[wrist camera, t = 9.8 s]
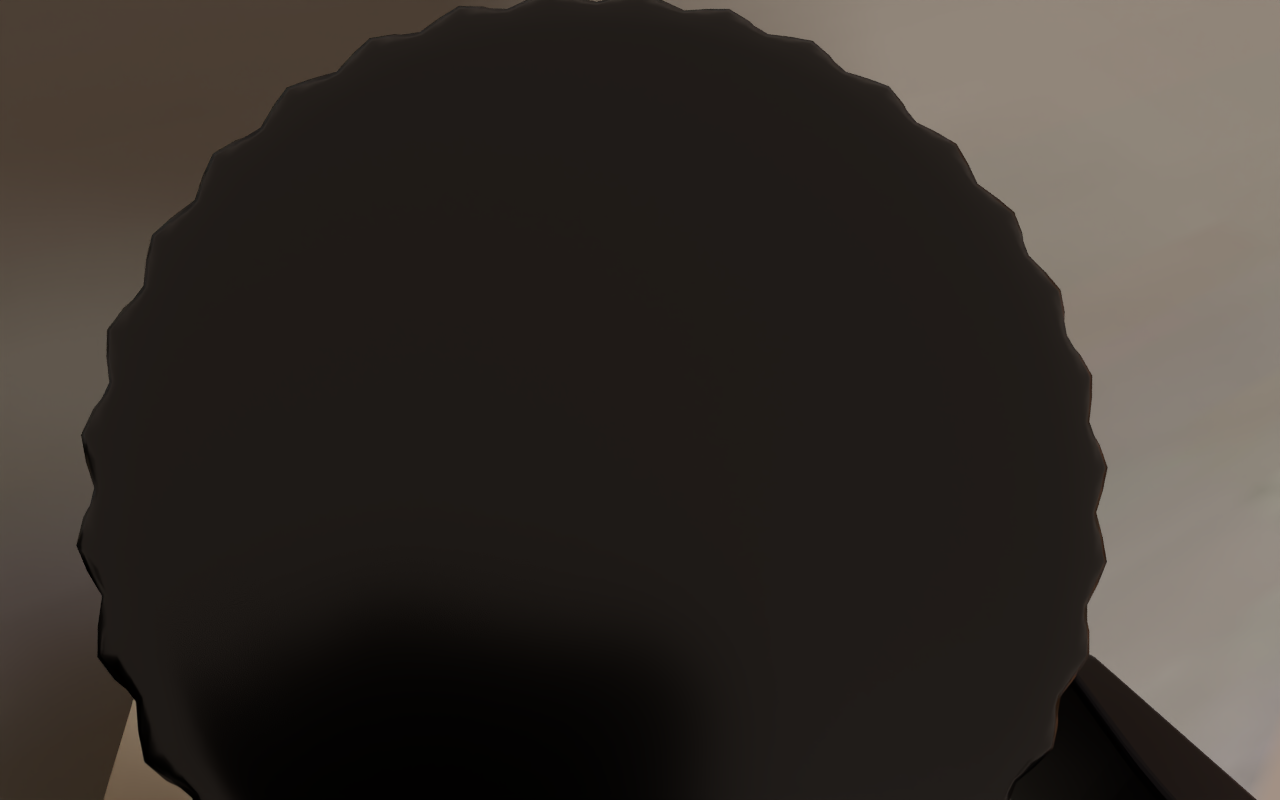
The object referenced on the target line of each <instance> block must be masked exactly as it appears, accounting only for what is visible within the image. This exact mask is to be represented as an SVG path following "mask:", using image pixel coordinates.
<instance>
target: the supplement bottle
mask: <svg viewBox="0 0 1280 800" xmlns="http://www.w3.org/2000/svg"><path fill="white" fill-rule="evenodd" d="M1064 314H1065V311H1064V306H1063V301H1062V295H1061V290H1060V289H1059V288H1058V286H1057V285H1056V284H1055V283H1054V282H1053V281H1052V279H1051V278H1050V277H1049V276H1048V275H1047V273H1046V272H1045V271H1044V270H1043V269H1042V268H1041V267H1040V266H1039V265H1038V264H1037V263H1036V262H1035V261H1034V260H1033V259H1032V258H1031V257H1030V256H1029V255H1028V253H1027V250H1026V247H1025V245H1024V242H1023V236H1022V231H1021V229H1020V226H1019V223H1018V221H1017V218H1016V216H1015V213H1014V212H1013V211H1012V210H1011V209H1010V208H1008V207H1007V206H1006V205H1005V204H1004V203H1003V202H1001V201H1000V200H999V199H998V198H997V197H995V196H994V195H992V194H991V193H990V192H988V191H987V190H985V189H984V188H983V187H981V186H980V185H978V184H977V182H976V180H975V177H974V175H973V173H972V171H971V169H970V167H969V165H968V163H967V161H966V159H965V158H964V156H963V154H962V153H961V151H960V149H959V147H958V146H957V144H956V143H954V142H952V141H951V140H949V139H947V138H945V137H944V136H942V135H940V134H939V133H937V132H935V131H933V130H931V129H929V128H927V127H925V126H923V125H921V124H919V123H917V122H916V121H915V120H914V119H913V118H912V116H911V115H910V114H909V113H908V111H907V110H906V108H905V106H904V104H903V103H902V102H901V100H900V99H899V98H898V97H897V96H896V94H895V93H894V92H893V91H892V90H891V88H890V87H889V86H886V85H884V84H881V83H878V82H876V81H873V80H871V79H868V78H864V77H861V76H858V75H854V74H851V73H848V72H845V71H844V70H843V69H842V68H841V67H840V66H839V65H837V64H836V63H835V62H834V61H833V59H832V58H831V57H830V56H829V55H828V54H827V53H826V52H825V51H824V50H822V49H821V48H820V47H819V46H818V45H817V44H815V43H814V42H813V41H810V40H804V39H799V38H794V37H787V36H778V35H770V34H767V33H765V32H763V31H762V30H760V29H759V28H757V27H755V26H754V25H753V24H752V23H750V22H749V21H748V20H747V19H745V18H743V17H742V16H740V15H738V14H737V13H735V12H733V11H732V10H730V9H701V10H685V11H684V10H682V9H680V8H678V7H676V6H673V5H671V4H669V3H667V2H665V1H663V0H602V1H598V2H595V1H590V0H526V1H524V2H521V3H519V4H517V5H515V6H513V7H511V8H509V9H493V8H486V7H473V6H458V7H457V8H455V9H453V10H452V11H450V12H448V13H447V14H445V15H444V16H442V17H440V18H439V19H437V20H436V21H435V22H433V23H432V24H431V25H429V26H428V27H426V28H425V29H424V30H422V31H421V32H417V33H411V34H404V35H396V34H393V35H387V36H381V37H375V38H370V39H369V40H367V41H366V42H365V43H364V44H363V45H362V46H361V47H360V48H359V49H358V50H357V51H355V52H354V53H353V54H352V55H351V57H350V58H349V59H348V60H347V61H346V62H345V63H344V64H343V65H342V66H341V67H340V69H339V70H338V71H337V72H334V73H331V74H327V75H323V76H320V77H316V78H313V79H310V80H307V81H304V82H301V83H298V84H296V85H293V86H290V87H287V88H286V89H285V91H284V92H283V94H282V95H281V96H280V98H279V99H278V100H277V102H276V103H275V104H274V106H273V107H272V109H271V111H270V113H269V114H268V116H267V118H266V119H265V121H264V123H263V125H262V126H261V128H260V129H258V130H256V131H255V132H253V133H251V134H249V135H248V136H246V137H244V138H242V139H239V140H235V141H234V142H232V143H230V144H229V145H227V146H225V147H224V148H222V149H220V150H219V151H217V152H215V153H214V154H213V155H212V157H211V159H210V162H209V164H208V166H207V168H206V170H205V172H204V174H203V177H202V180H201V183H200V186H199V189H198V192H197V195H196V198H195V200H194V201H193V202H192V203H190V204H189V205H188V206H186V207H185V208H184V209H182V210H181V211H180V212H178V213H177V214H176V215H174V216H173V217H172V218H171V219H170V220H169V221H167V222H166V223H165V224H164V225H163V226H162V227H161V228H160V229H158V230H157V231H156V232H155V233H154V234H153V235H152V238H151V242H150V246H149V250H148V255H147V259H146V268H145V278H144V286H143V287H142V289H141V290H140V291H139V293H138V294H137V295H136V297H135V298H134V299H133V300H132V301H131V302H130V303H129V304H128V305H126V306H125V307H124V308H123V309H122V311H121V312H120V313H119V315H118V316H117V317H116V319H115V320H114V322H113V323H112V324H111V326H110V327H109V328H108V330H107V365H108V374H109V385H108V387H107V389H106V391H105V393H104V395H103V397H102V399H101V400H100V401H99V403H98V404H97V405H96V406H95V408H94V409H93V411H92V413H91V415H90V417H89V419H88V421H87V423H86V425H85V428H84V430H83V432H82V434H81V437H82V442H83V448H84V453H85V459H86V463H87V466H88V469H89V472H90V475H91V479H92V482H93V485H94V492H93V496H92V500H91V504H90V506H89V508H88V509H87V511H86V513H85V515H84V517H83V521H82V525H81V529H80V533H79V537H78V541H77V545H76V546H77V548H78V550H79V553H80V555H81V557H82V560H83V562H84V565H85V567H86V569H87V572H88V573H89V575H90V577H91V578H92V580H93V582H94V583H95V585H96V587H97V588H98V590H99V592H100V593H101V595H102V601H101V608H100V615H99V622H98V652H97V657H98V659H99V660H100V661H101V663H102V664H103V665H104V667H105V668H106V669H107V670H108V672H109V673H110V674H111V676H112V677H113V678H114V680H116V681H117V682H118V683H119V684H121V685H122V686H123V687H124V688H126V689H127V690H128V692H129V693H130V694H131V696H132V697H133V698H134V700H135V701H136V711H137V724H138V734H139V739H140V744H141V749H142V754H143V759H144V762H145V763H146V764H147V765H148V766H149V767H150V768H152V769H153V770H154V771H155V772H156V773H157V774H159V775H160V776H161V777H162V778H163V779H164V780H166V781H167V782H169V783H172V784H174V785H176V786H178V787H180V788H181V789H182V790H183V791H184V792H186V793H187V794H188V795H189V796H190V797H191V798H192V799H193V800H1010V798H1011V796H1012V793H1013V791H1014V788H1015V785H1016V783H1017V782H1018V781H1019V780H1020V779H1021V778H1022V777H1024V776H1025V775H1026V774H1027V773H1028V772H1029V771H1031V770H1032V769H1033V768H1034V767H1035V766H1037V765H1038V764H1039V763H1040V762H1041V761H1042V760H1043V759H1044V757H1045V756H1046V755H1047V754H1048V753H1049V752H1050V751H1051V750H1052V749H1053V747H1054V742H1055V737H1056V731H1057V726H1058V709H1059V703H1060V697H1061V695H1062V694H1063V693H1064V691H1065V690H1066V689H1067V687H1068V686H1069V685H1070V684H1071V682H1072V681H1073V680H1074V679H1075V677H1076V676H1077V674H1078V673H1079V671H1080V670H1081V668H1082V667H1083V665H1084V664H1085V662H1086V661H1087V659H1088V658H1089V628H1088V623H1087V604H1088V602H1089V600H1090V598H1091V596H1092V594H1093V592H1094V590H1095V588H1096V587H1097V585H1098V582H1099V580H1100V577H1101V575H1102V572H1103V570H1104V567H1105V565H1106V562H1107V560H1106V554H1105V548H1104V543H1103V537H1102V533H1101V529H1100V526H1099V522H1098V518H1097V514H1096V511H1097V508H1098V505H1099V501H1100V498H1101V495H1102V491H1103V487H1104V482H1105V477H1106V472H1107V465H1106V462H1105V459H1104V456H1103V453H1102V450H1101V447H1100V445H1099V443H1098V441H1097V440H1096V438H1095V436H1094V434H1093V431H1092V428H1091V425H1090V423H1089V419H1090V410H1091V401H1092V375H1091V373H1090V371H1089V369H1088V368H1087V366H1086V364H1085V362H1084V360H1083V359H1082V357H1081V355H1080V354H1079V353H1078V352H1077V351H1076V350H1075V348H1074V347H1073V345H1072V343H1071V342H1070V340H1069V338H1068V336H1067V334H1066V328H1065V323H1064Z"/></svg>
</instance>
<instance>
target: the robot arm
mask: <svg viewBox="0 0 1280 800" xmlns="http://www.w3.org/2000/svg"><path fill="white" fill-rule="evenodd" d="M1010 800H1256V799H1255V798H1254V797H1253V796H1252V795H1251V794H1250V793H1248V792H1247V791H1246V790H1245V789H1244V788H1243V787H1242V786H1240V785H1239V784H1238V783H1237V782H1236V781H1235V780H1234V779H1233V778H1231V777H1230V776H1229V775H1228V774H1227V773H1226V772H1225V771H1223V770H1222V769H1221V768H1220V767H1219V766H1218V765H1217V764H1215V763H1214V762H1213V761H1212V760H1211V759H1210V758H1209V757H1208V756H1206V755H1205V754H1204V753H1203V752H1202V751H1201V750H1200V749H1198V748H1197V747H1196V746H1195V745H1194V744H1193V743H1192V742H1190V741H1189V740H1188V739H1187V738H1186V737H1185V736H1184V735H1183V734H1181V733H1180V732H1179V731H1178V730H1177V729H1176V728H1175V727H1173V726H1172V725H1171V724H1170V723H1169V722H1168V721H1167V720H1165V719H1164V718H1163V717H1162V716H1161V715H1160V714H1159V713H1158V712H1156V711H1155V710H1154V709H1153V708H1152V707H1151V706H1150V705H1148V704H1147V703H1146V702H1145V701H1144V700H1143V699H1142V698H1141V697H1139V696H1138V695H1137V694H1136V693H1135V692H1134V691H1133V690H1131V689H1130V688H1129V687H1128V686H1127V685H1126V684H1125V683H1123V682H1122V681H1121V680H1120V679H1119V678H1118V677H1117V676H1116V675H1114V674H1113V673H1112V672H1111V671H1110V670H1109V669H1108V668H1106V667H1105V666H1104V665H1103V664H1102V663H1101V662H1100V661H1099V660H1097V659H1096V658H1095V657H1093V656H1091V655H1090V654H1089V658H1088V659H1087V661H1086V662H1085V664H1084V665H1083V667H1082V668H1081V670H1080V671H1079V673H1078V674H1077V676H1076V677H1075V679H1074V680H1073V681H1072V682H1071V684H1070V685H1069V686H1068V687H1067V689H1066V690H1065V691H1064V693H1063V694H1062V695H1061V697H1060V703H1059V709H1058V726H1057V731H1056V737H1055V742H1054V747H1053V749H1052V750H1051V751H1050V752H1049V753H1048V754H1047V755H1046V756H1045V757H1044V759H1043V760H1042V761H1041V762H1040V763H1039V764H1038V765H1037V766H1035V767H1034V768H1033V769H1032V770H1031V771H1029V772H1028V773H1027V774H1026V775H1025V776H1024V777H1022V778H1021V779H1020V780H1019V781H1018V782H1017V783H1016V785H1015V788H1014V791H1013V793H1012V796H1011V798H1010Z"/></svg>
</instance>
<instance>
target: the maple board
mask: <svg viewBox="0 0 1280 800" xmlns="http://www.w3.org/2000/svg"><path fill="white" fill-rule="evenodd" d="M103 800H193V799H192V798H191V797H190V796H189V795H188V794H187V793H186V792H184V791H183V790H182V789H181V788H180V787H178V786H176V785H174V784H172V783H169V782H167V781H166V780H164V779H163V778H162V777H161V776H160V775H159V774H157V773H156V772H155V771H154V770H153V769H152V768H150V767H149V766H148V765H147V764H146V763H145V762H144V759H143V754H142V749H141V744H140V739H139V734H138V724H137V711H136V701H135V700H133V703H132V706H131V710H130V713H129V716H128V720H127V723H126V726H125V730H124V733H123V736H122V740H121V743H120V746H119V750H118V753H117V756H116V760H115V763H114V766H113V770H112V773H111V776H110V780H109V783H108V786H107V790H106V793H105V796H104V799H103Z"/></svg>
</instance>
